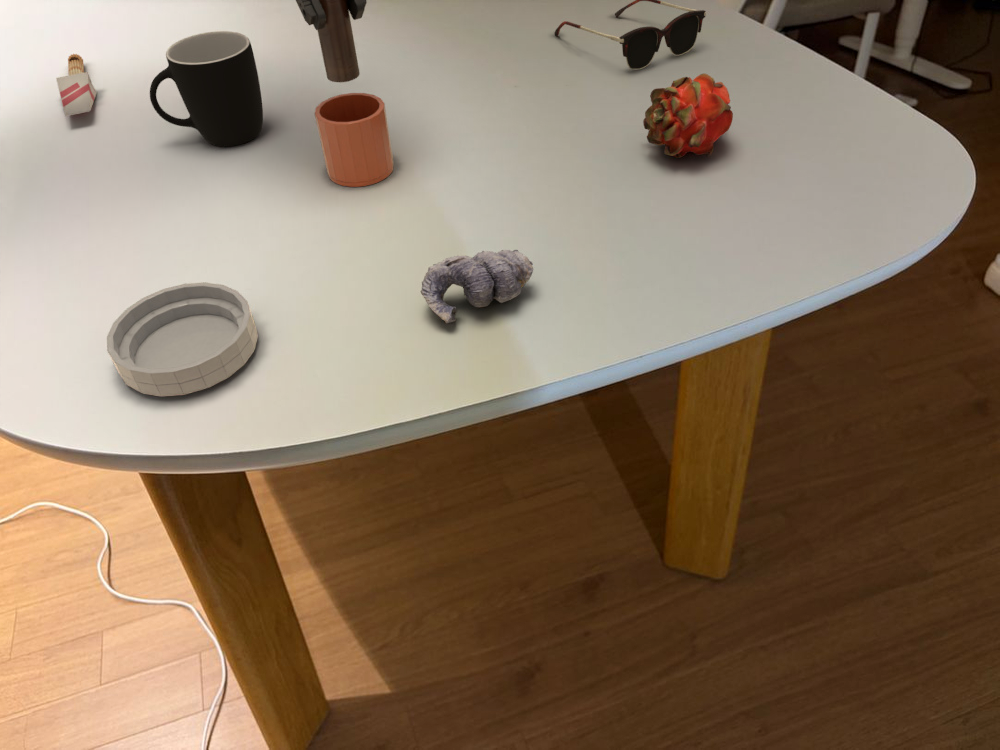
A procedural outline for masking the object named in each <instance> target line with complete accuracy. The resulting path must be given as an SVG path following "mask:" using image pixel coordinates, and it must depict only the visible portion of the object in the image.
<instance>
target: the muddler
mask: <svg viewBox="0 0 1000 750" xmlns="http://www.w3.org/2000/svg"><path fill="white" fill-rule="evenodd" d="M319 1H320V3H321V6H322V8H323V10H324V12H325V14H326V24H325V27H324V28H323V29H319V30H316V31H317V35H318V40H319V45H320V50H321V54H322V60H323V64H324V68H325V70H324V71H325V75H326V78H327V80H328V81H330V82H333V83H347V82H351V81H353V80H356V79H357V78H358V77H360V75H361V74H360V67H359V62H358V61H359V60H358V56H357V51H356V43H355V39H354V33H353V27H352V21H351V14H350V12H349V9H348V4H347V0H319Z"/></svg>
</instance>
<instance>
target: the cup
mask: <svg viewBox="0 0 1000 750" xmlns="http://www.w3.org/2000/svg"><path fill="white" fill-rule="evenodd" d="M314 117H315V123H316V127H317V132H318V136H319V140H320V141H319V142H320V144H321V149H322V154H323V159H324V164H325V168H326V171H327V175H328V178H329V179H330V180H331V181H332V182H333V183H334V184H337V185H339V186H343V187H349V188H350V187H351V188H359V187H360V188H361V187H366V186H371V185H374V184H377V183H380V182H382V181H384V180H385V179H386V178H388V177H389V176H390V175H391V174H392V173H393V171H394V158H393V150H392V143H391V137H390V129H389V124H388V118H387V112H386V106H385V102H384V101H383V100H382V97H379V96H377V95H375V94H373V93H372V94H371V93H367V92H348V93H341V94H337V95H334V96H331V97H328V98H327V99H324V100H323V101H321V102H320V103H319V104H318V105H317V106H315V109H314Z"/></svg>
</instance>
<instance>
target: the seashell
mask: <svg viewBox="0 0 1000 750" xmlns="http://www.w3.org/2000/svg"><path fill="white" fill-rule="evenodd" d="M533 265H534V263H533V261H530V259H529V257H528V256H526V255H525V254H524V253H522V252H520V251H519V250H518V249H514V250H510V249H502V250H499V251H498V252H495V251H488V250H487V251H486V250H481V251H479V252H476V254H475V255H473V256H472V257H471V256H468V255H459V254H458V255H454V256H449V257H446V258H444V259H443V260H441V261H440V262H437V263H434V264H433V265H430V266H429V267H428V269H427V272H425V275H424V277H423V280H422V281H421V290H420V293H421V295H422V298H423V299H424V300H425V302H426V303H427V305H428V307H429V308H430V309H431V311H433V313H435V315H437V317H439V318H440V319H441V320H443V321H444V322H445V324H449V323H453V322H456V321H457V319H456V315H457V313H458V309H457V306H453V305H450V304H448V303H447V302H446V301H445V300H444V296H445V294H446V293H447V291H448V289H449V288H450V287H451V286H452V285H456V286H458V287H461V288H462V289H463V296H465V298H466V301H468V302H469V304H470V305H471V306H473V307H474V308H484V307H488V306H489V305H490V304H491V303H492V302H493V301H494V300H496V301H497V302H499V303H500V304H504V303H505V302H508V301H511V300H513V299H514V298H516V297H518V296H519V295H520V294H521V292H522V288H523V287H525V285H526V283H527V282H528V281H530V279H531V278H532V274H533V273H534V267H533Z"/></svg>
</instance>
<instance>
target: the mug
mask: <svg viewBox="0 0 1000 750" xmlns="http://www.w3.org/2000/svg"><path fill="white" fill-rule="evenodd" d="M165 58H166V61H167V64H168V65H167V67H166V68H164V69H163V70H161V71H160V72H158V74H156V76H155V77H154V78H153V79H152V81H151V83H150V87H149V100H150V103H151V105H152V108H153V109H154V111H155V112H156V114H158V116H159V117H160V118H162V120H164V121H166V122H167V123H169V124H172V125H174V126H179V127H183V128H184V127H186V128H192V129H195V130H196V131H198V133H199V134H200V135H201V136H202V137H203V139H204V140H206V142H207V143H209V144H211V145H213V146H216V147H235V146H240V145H243V144H246V143H249V142H251V141H252V140H254V139H256V138H257V137H258V136H259V135H260V133H261V132H262V128H263V125H264V124H263V123H264V109H263V100H262V91H261V85H260V79H259V74H258V68H257V64H256V59H255V54H254V50H253V46H252V42H251V40H250V38H249V37H248V36H247V35H245V34H243V33H241V32H237V31H229V30H220V31H218V30H217V31H215V30H214V31H208V32H202V33H197V34H193V35H190V36H187V37H184V38H181V39H180V40H178V41H175V42H174V43H173V44H171V45H170V46H169V47H168V48H167V50H166V52H165ZM166 79H171V80H172V81H173V82H174V84H175V86H176V88H177V90H178V93H179V95H180V97H181V99H182V102H183V104H184V106H185V108H186V110H187V112H188V114H189V116H188V117H186V118H180V117H175V116H174V115H173V116H172V115H171V114H169V113H167V112H166V111H165V110H164V109H163V108H162V107H161V105H160V104H159V101H158V98H157V91H158V87H159V86H160V84H161V83H162V82H164V80H166Z"/></svg>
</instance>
